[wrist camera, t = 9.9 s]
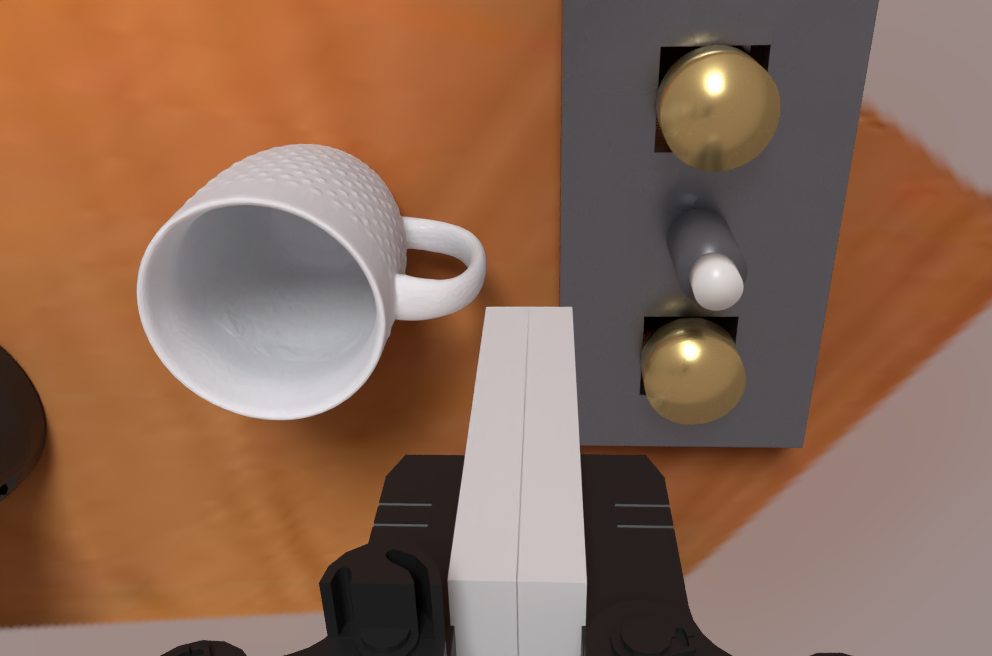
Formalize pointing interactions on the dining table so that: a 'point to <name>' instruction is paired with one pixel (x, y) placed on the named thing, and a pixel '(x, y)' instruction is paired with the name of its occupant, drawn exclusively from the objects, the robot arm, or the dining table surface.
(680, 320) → the far knob
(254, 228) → the mug
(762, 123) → the near knob
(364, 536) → the dining table surface
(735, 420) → the mount plate
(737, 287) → the pot post
